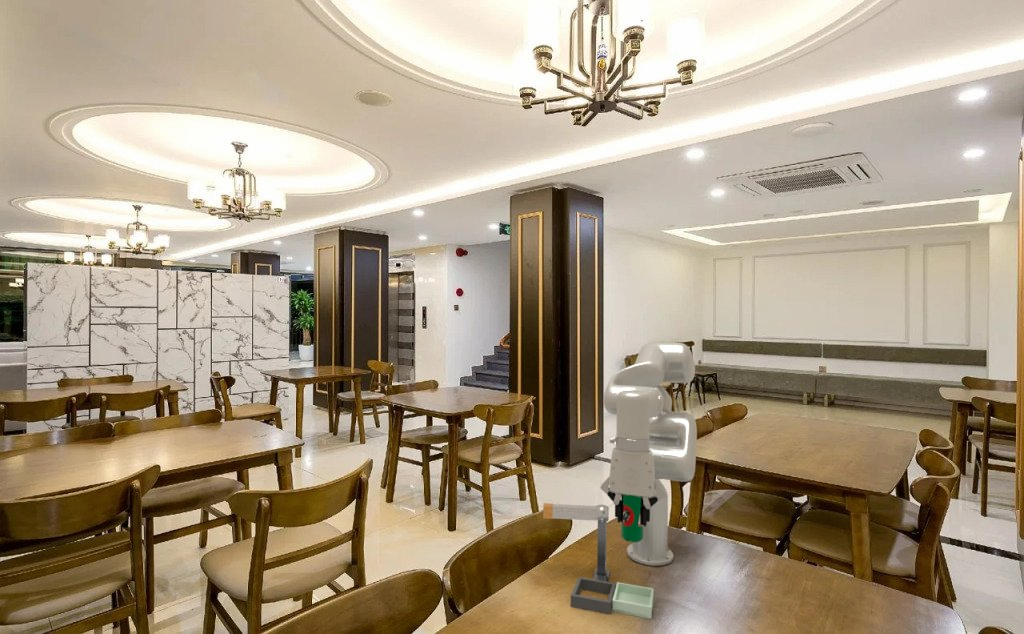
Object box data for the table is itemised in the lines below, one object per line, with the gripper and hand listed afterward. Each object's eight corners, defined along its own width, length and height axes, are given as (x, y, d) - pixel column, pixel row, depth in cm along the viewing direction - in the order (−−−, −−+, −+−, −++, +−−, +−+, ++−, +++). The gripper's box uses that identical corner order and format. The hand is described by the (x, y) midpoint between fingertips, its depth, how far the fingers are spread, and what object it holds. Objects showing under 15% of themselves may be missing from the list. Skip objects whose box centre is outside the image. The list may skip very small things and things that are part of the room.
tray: (617, 592, 121) (617, 582, 121) (653, 599, 118) (653, 588, 118) (612, 611, 113) (612, 600, 113) (651, 618, 110) (651, 607, 110)
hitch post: (595, 571, 131) (596, 517, 132) (609, 573, 130) (610, 519, 130) (590, 588, 123) (590, 529, 123) (604, 590, 122) (605, 532, 122)
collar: (578, 586, 124) (578, 576, 124) (615, 593, 121) (616, 583, 121) (570, 606, 115) (570, 595, 115) (610, 614, 112) (610, 603, 112)
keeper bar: (607, 517, 131) (608, 505, 131) (609, 522, 128) (609, 509, 128) (543, 514, 132) (543, 501, 133) (543, 518, 129) (543, 506, 129)
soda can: (643, 544, 113) (644, 491, 113) (621, 542, 114) (621, 489, 114) (643, 535, 118) (643, 484, 118) (621, 532, 119) (621, 482, 119)
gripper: (593, 444, 116) (592, 523, 116) (670, 451, 110) (670, 534, 110) (598, 437, 123) (598, 511, 123) (671, 443, 117) (671, 521, 117)
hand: (632, 521), depth 116 cm, fingers closed on soda can, 5 cm apart
